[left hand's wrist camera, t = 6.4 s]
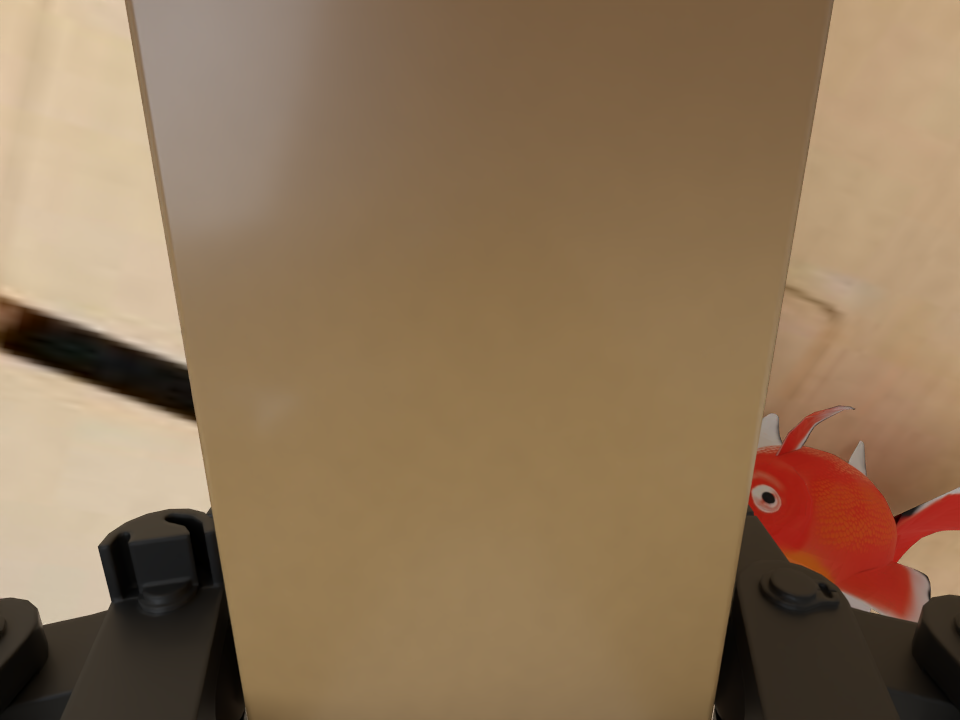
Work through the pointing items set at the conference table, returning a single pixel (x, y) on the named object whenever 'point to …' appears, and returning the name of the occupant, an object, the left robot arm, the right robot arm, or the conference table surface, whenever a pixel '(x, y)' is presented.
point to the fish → (843, 519)
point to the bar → (479, 334)
